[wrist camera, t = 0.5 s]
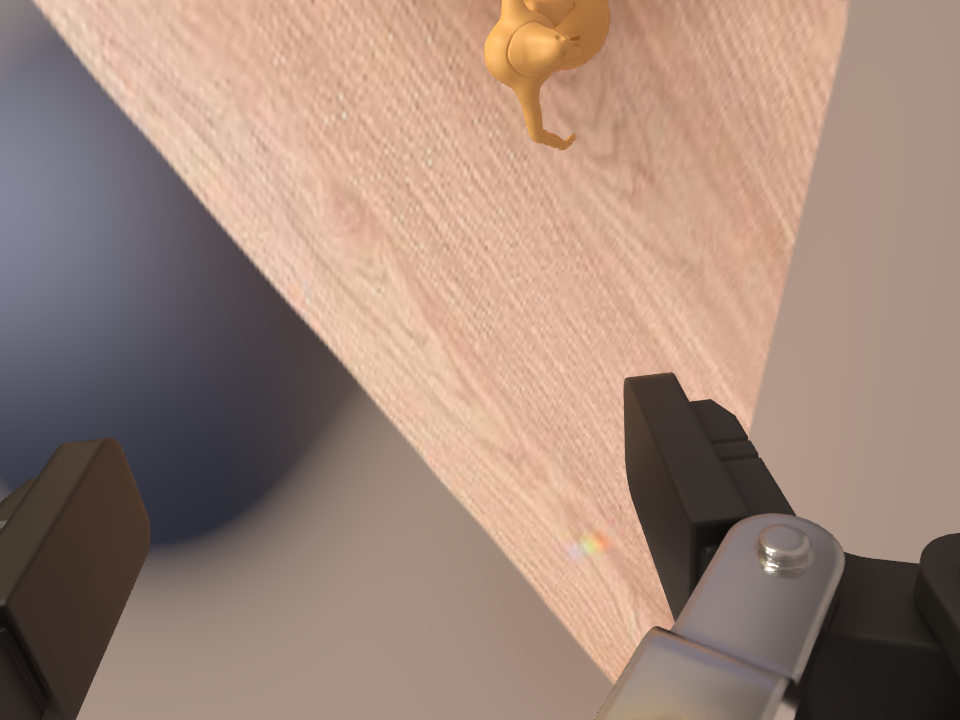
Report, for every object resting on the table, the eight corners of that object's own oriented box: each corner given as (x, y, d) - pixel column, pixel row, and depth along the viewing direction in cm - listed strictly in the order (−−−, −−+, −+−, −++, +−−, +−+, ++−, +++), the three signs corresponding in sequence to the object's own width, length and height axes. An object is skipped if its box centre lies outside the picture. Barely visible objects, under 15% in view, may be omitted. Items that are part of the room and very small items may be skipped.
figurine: (611, 103, 38) (689, 152, 28) (485, 131, 39) (513, 192, 28) (584, -97, 35) (661, -130, 24) (445, -65, 35) (459, -83, 24)
